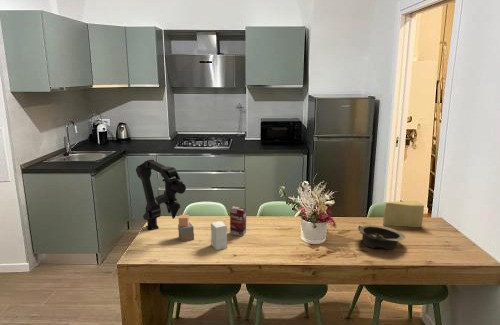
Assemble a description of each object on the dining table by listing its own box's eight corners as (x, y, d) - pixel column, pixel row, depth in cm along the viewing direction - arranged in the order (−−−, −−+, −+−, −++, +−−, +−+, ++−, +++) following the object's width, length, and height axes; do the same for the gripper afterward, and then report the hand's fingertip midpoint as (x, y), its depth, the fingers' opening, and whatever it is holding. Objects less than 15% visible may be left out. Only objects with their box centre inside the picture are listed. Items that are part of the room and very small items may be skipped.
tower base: (178, 237, 221) (178, 230, 220) (190, 235, 224) (190, 228, 223) (182, 242, 215) (181, 235, 214) (194, 239, 217) (193, 233, 216)
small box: (227, 248, 206) (227, 225, 203) (216, 250, 204) (215, 227, 201) (221, 242, 214) (221, 220, 211) (211, 244, 211) (210, 222, 208)
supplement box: (229, 234, 224) (229, 208, 221) (233, 231, 229) (232, 206, 225) (243, 236, 221) (243, 210, 217) (246, 233, 225) (246, 207, 222)
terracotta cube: (180, 223, 221) (179, 214, 219) (188, 222, 221) (188, 214, 220) (179, 226, 216) (178, 218, 215) (187, 226, 216) (187, 218, 215)
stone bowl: (355, 249, 203) (356, 233, 202) (359, 235, 227) (360, 219, 225) (405, 256, 195) (406, 239, 194) (404, 240, 218) (405, 224, 217)
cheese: (385, 227, 233) (387, 204, 229) (380, 221, 242) (382, 199, 239) (422, 228, 232) (425, 204, 228) (416, 222, 241) (418, 199, 238)
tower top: (178, 230, 220) (178, 224, 219) (190, 228, 223) (189, 222, 222) (181, 235, 214) (181, 228, 213) (193, 233, 216) (193, 226, 216)
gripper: (152, 186, 220) (153, 212, 224) (159, 196, 204) (161, 223, 208) (171, 184, 225) (172, 209, 229) (180, 194, 209) (181, 220, 212)
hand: (171, 215), depth 219 cm, fingers open, 9 cm apart
